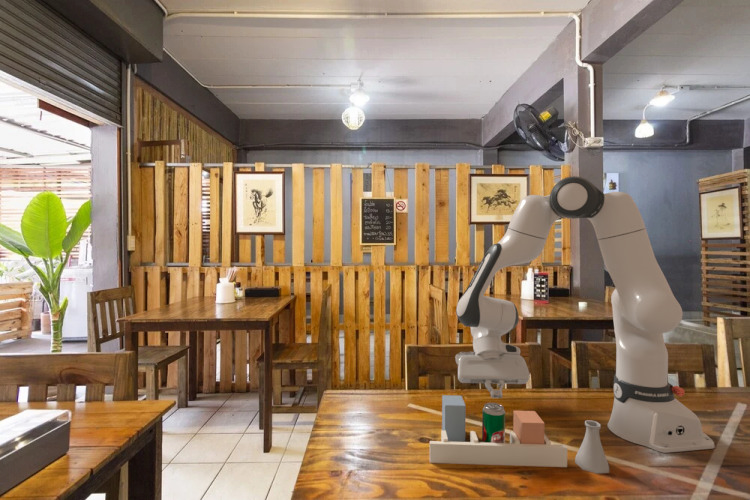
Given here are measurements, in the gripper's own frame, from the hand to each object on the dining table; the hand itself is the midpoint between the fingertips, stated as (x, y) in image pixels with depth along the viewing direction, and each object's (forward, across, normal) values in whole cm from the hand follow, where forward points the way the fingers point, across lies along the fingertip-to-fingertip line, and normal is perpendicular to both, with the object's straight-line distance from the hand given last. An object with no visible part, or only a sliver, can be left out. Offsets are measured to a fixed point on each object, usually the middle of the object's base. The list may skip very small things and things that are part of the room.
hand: (497, 397), depth 109 cm
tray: (+15, -6, -6) cm, 18 cm away
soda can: (+18, -6, -9) cm, 21 cm away
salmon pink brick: (+17, +2, -9) cm, 20 cm away
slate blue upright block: (+12, -14, -4) cm, 18 cm away
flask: (+20, +15, -11) cm, 27 cm away
